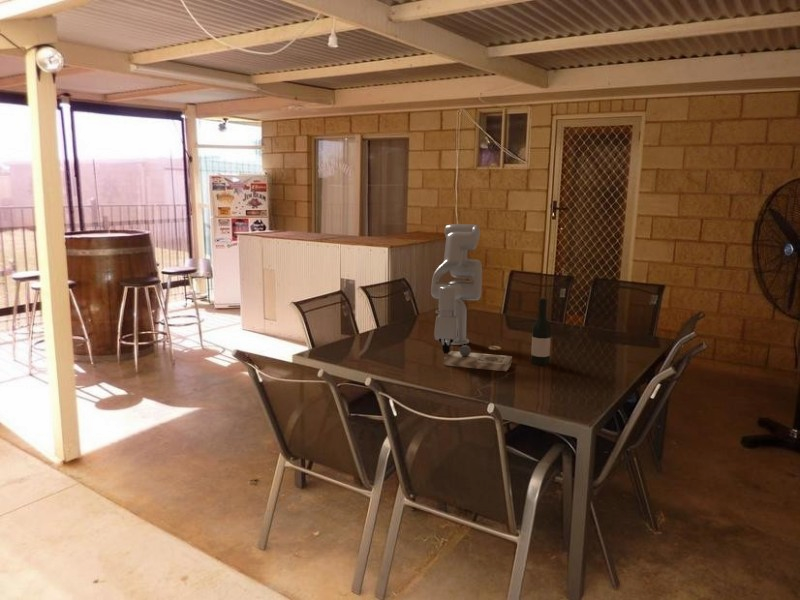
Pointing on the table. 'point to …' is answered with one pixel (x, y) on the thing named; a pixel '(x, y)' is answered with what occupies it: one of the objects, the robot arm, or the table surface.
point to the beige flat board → (478, 361)
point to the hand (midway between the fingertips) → (446, 352)
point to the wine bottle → (541, 337)
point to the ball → (465, 350)
